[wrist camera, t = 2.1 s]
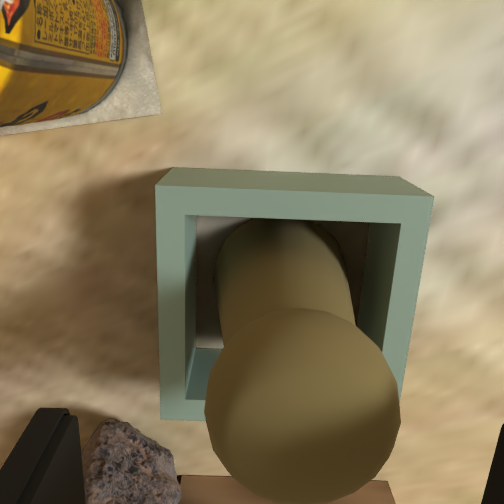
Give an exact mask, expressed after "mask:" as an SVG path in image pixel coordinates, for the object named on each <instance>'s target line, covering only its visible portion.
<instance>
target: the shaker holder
mask: <svg viewBox="0 0 504 504" xmlns="http://www.w3.org/2000/svg"><path fill="white" fill-rule="evenodd" d="M433 201H434V196H432V195H431V194H429V193H427V192H425V191H424V190H422V189H420V188H418V187H417V186H415V185H413V184H411V183H410V182H408V181H406V180H404V179H403V178H401V177H395V176H371V175H347V174H322V173H298V172H274V171H250V170H226V169H202V168H178V167H173V168H172V169H171V170H170V171H169V172H168V173H167V174H166V175H165V176H164V177H163V178H162V179H161V180H160V181H159V182H158V183H157V184H156V185H155V203H156V246H157V289H158V332H159V374H160V417H161V420H188V421H206V419H205V415H204V407H205V400H206V392H207V385H208V379H209V373H210V371H211V370H212V368H213V366H214V364H215V362H216V360H217V358H218V356H219V355H220V353H221V351H222V349H206V348H196V215H200V216H225V217H251V218H276V219H301V220H326V221H352V222H370V227H369V235H368V243H367V251H366V258H365V266H364V274H363V282H362V290H361V298H360V306H359V314H358V321H357V327H358V328H359V329H360V330H361V331H362V332H363V333H364V334H365V335H366V336H367V337H368V338H370V339H371V340H372V341H373V342H374V343H375V344H376V345H377V346H378V347H379V348H380V350H381V352H382V354H383V356H384V357H385V359H386V361H387V363H388V365H389V367H390V369H391V371H392V373H393V375H394V377H395V379H396V381H397V385H398V396H399V403H400V397H401V391H402V385H403V379H404V373H405V367H406V361H407V355H408V349H409V343H410V337H411V332H412V326H413V320H414V314H415V308H416V302H417V296H418V290H419V284H420V278H421V272H422V266H423V260H424V254H425V249H426V243H427V237H428V231H429V225H430V219H431V213H432V207H433Z"/></svg>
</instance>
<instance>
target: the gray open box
mask: <svg viewBox="0 0 504 504" xmlns="http://www.w3.org/2000/svg"><path fill="white" fill-rule="evenodd" d="M180 486H181V493H182V497H181V500H180V501H179V503H178V504H281V503H277V502H274V501H271V500H269V499H266V498H263V497H261V496H258V495H255V494H254V493H252V492H251V491H250V490H248V489H247V488H246V487H244V486H243V485H242V484H241V483H239V482H238V481H237V480H235V479H234V478H233V477H222V476H186V475H182V478H181V484H180ZM322 504H396V503H395V501H394V498H393V495H392V492H391V489H390V487H389V484H388V481H369V482H368V483H366V484H365V485H364V486H363V487H361V488H360V489H359V490H357V491H356V492H355V493H352V494H350V495H347V496H345V497H342V498H340V499H337V500H335V501H332V502H329V503H322Z"/></svg>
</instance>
